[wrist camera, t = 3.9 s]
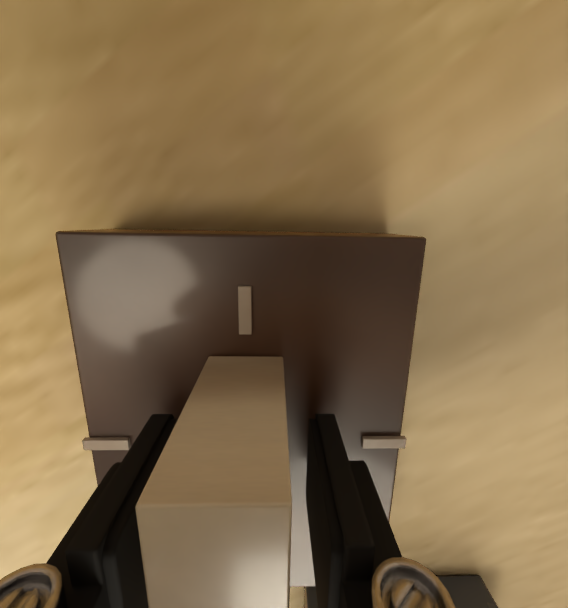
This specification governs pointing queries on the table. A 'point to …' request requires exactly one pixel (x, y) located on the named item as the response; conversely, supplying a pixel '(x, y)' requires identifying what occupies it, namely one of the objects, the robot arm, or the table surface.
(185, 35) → the table surface
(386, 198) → the table surface
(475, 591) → the button box
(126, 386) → the panel
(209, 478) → the beige block
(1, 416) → the table surface
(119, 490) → the robot arm
